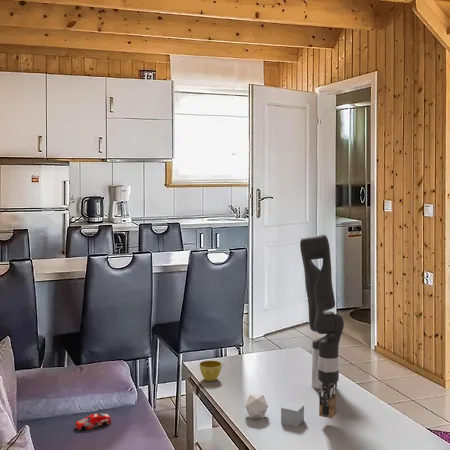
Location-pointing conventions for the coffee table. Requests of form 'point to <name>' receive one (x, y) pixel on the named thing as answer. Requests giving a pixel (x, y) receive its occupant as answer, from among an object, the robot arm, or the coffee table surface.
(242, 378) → the coffee table surface
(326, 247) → the robot arm
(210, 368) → the flower pot
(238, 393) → the coffee table surface
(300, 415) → the grey block
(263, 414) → the die
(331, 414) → the walnut block
